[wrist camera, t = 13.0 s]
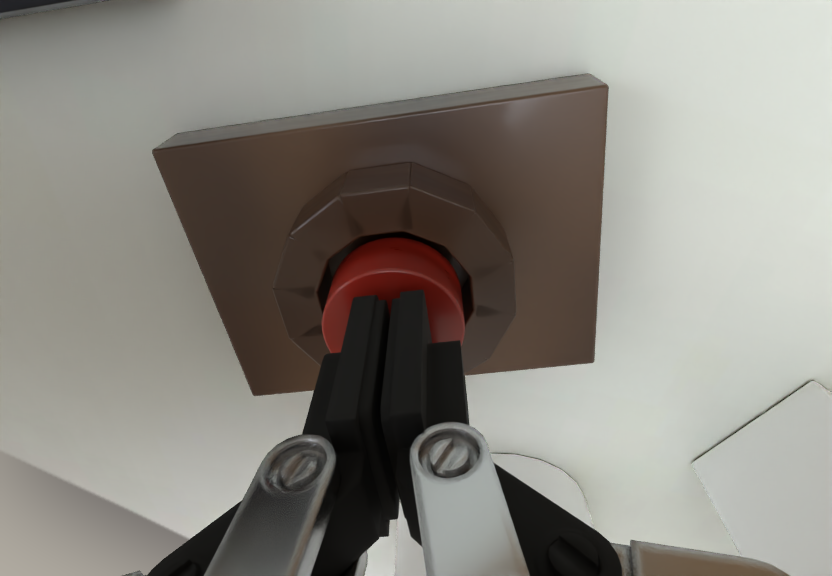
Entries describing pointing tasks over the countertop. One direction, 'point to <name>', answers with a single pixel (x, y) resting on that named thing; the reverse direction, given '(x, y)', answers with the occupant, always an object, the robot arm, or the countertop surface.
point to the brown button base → (403, 218)
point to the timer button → (395, 287)
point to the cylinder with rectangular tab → (525, 469)
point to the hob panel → (37, 6)
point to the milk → (778, 484)
